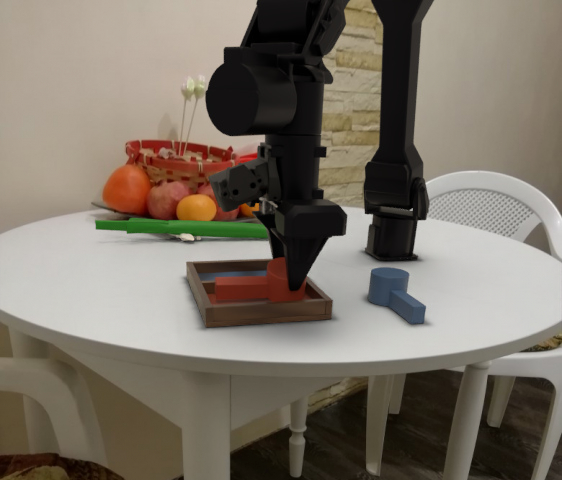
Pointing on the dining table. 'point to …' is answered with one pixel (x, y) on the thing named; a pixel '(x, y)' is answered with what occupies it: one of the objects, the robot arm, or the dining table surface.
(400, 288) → the blue cylinder with handle
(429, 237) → the dining table surface
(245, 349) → the dining table surface
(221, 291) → the red cylinder-ended block
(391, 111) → the robot arm
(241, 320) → the sorting tray
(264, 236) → the green stepped bar
